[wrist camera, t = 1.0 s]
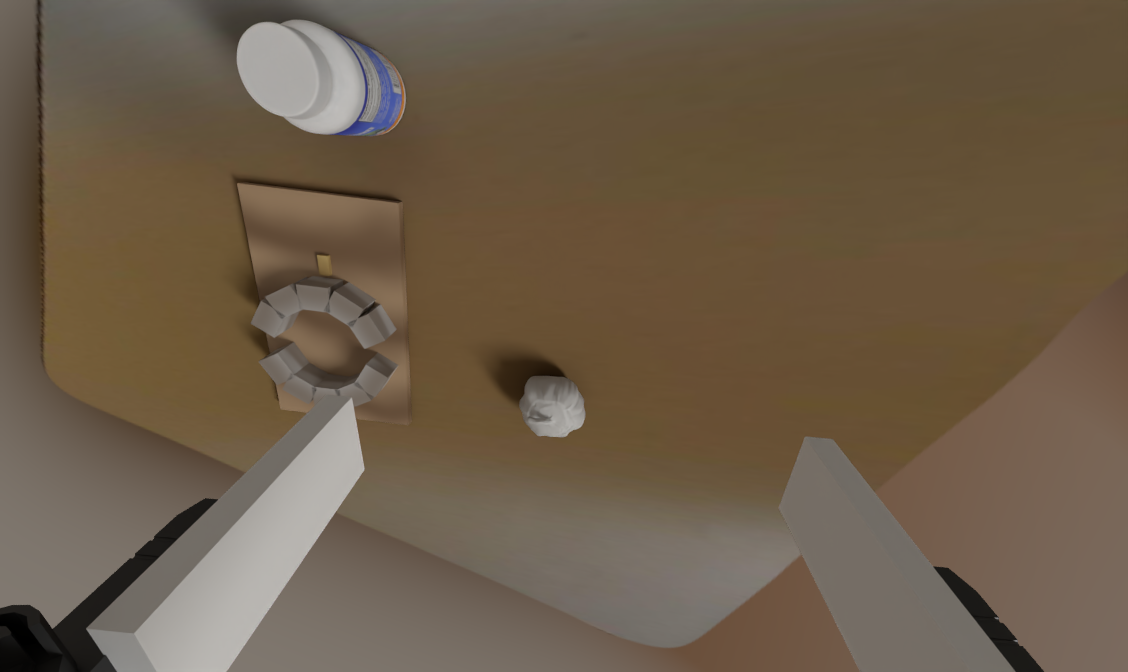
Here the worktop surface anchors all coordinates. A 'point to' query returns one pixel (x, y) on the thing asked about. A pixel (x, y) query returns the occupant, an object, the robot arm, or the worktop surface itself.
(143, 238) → the worktop surface
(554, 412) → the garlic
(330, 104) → the pill bottle
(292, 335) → the socket board
